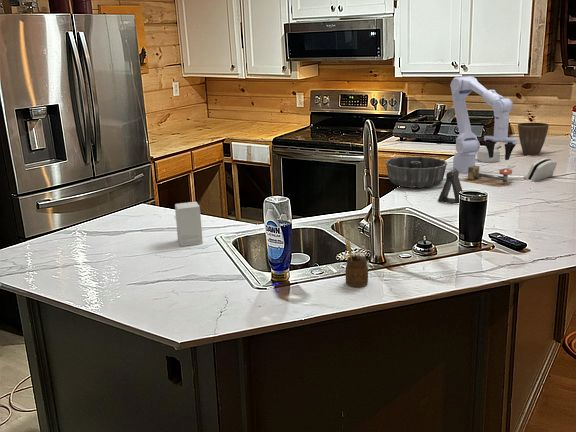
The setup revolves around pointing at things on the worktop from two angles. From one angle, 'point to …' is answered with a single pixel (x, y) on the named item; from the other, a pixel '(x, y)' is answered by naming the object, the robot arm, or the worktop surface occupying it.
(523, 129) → the plant pot
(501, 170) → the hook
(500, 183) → the board
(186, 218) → the supplement box
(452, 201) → the phone stand
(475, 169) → the wooden holder
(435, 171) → the bundt pan
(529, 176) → the grey rounded block
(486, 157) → the saucepan
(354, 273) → the utensil holder
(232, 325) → the worktop surface
